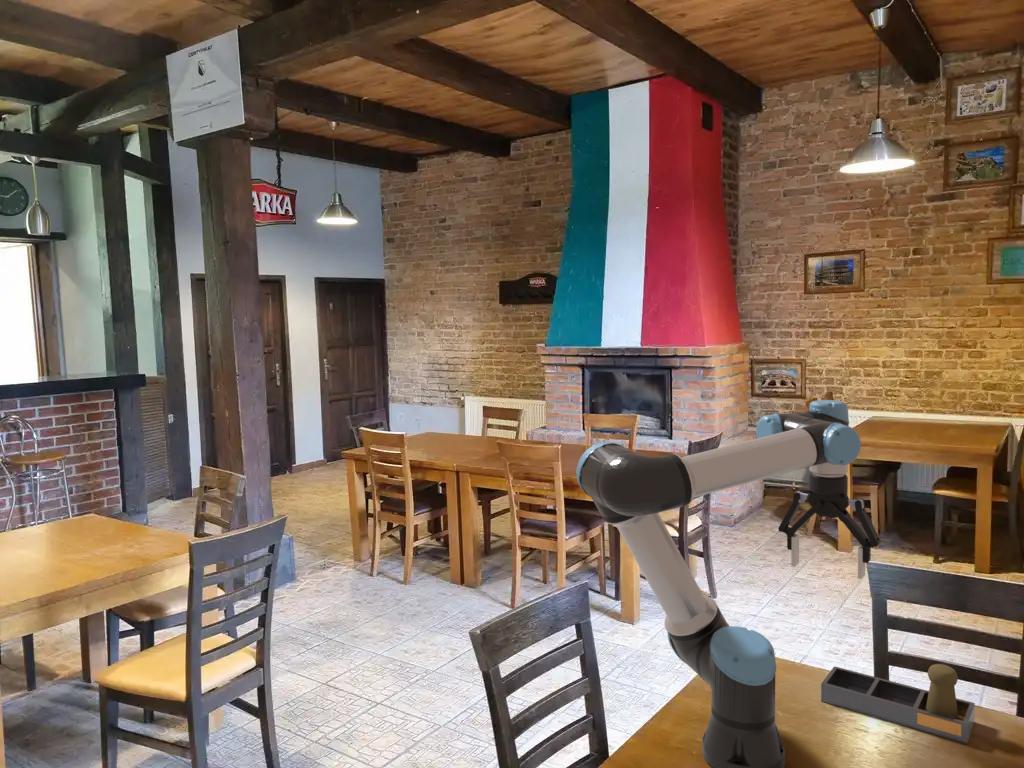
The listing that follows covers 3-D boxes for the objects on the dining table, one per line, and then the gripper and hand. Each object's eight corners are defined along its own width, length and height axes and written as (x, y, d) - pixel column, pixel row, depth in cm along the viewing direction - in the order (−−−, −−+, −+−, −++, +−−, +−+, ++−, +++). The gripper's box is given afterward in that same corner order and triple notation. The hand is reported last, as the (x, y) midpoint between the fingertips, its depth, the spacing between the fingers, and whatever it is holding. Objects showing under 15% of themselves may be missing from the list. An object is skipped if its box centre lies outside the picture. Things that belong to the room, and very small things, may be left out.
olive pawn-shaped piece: (963, 728, 146) (965, 675, 145) (930, 726, 148) (931, 673, 146) (952, 712, 152) (953, 661, 151) (920, 709, 153) (921, 659, 152)
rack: (974, 721, 150) (974, 703, 150) (966, 744, 143) (967, 724, 143) (834, 683, 168) (834, 666, 167) (820, 701, 160) (821, 683, 160)
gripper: (897, 476, 152) (895, 576, 154) (775, 464, 167) (775, 555, 169) (888, 484, 146) (886, 588, 148) (763, 470, 161) (763, 564, 164)
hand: (827, 570), depth 159 cm, fingers open, 13 cm apart
